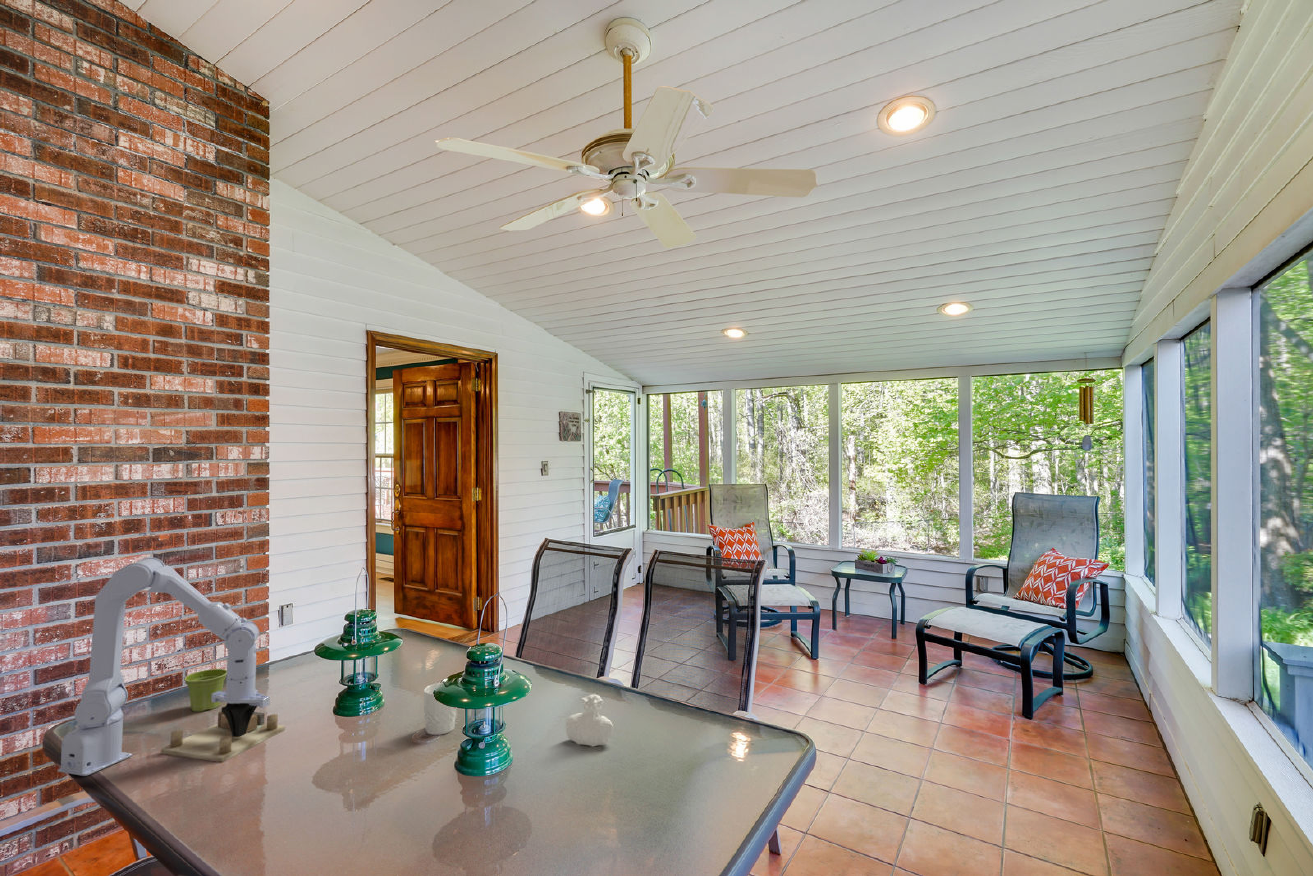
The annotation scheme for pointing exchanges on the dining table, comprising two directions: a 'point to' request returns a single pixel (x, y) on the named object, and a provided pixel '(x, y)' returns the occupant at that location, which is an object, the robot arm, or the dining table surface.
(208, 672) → the plant pot
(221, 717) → the hinged leg
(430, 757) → the dining table surface
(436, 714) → the white cup
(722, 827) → the dining table surface
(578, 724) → the white sack
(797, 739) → the dining table surface
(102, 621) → the robot arm
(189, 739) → the tan peg board
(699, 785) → the dining table surface
